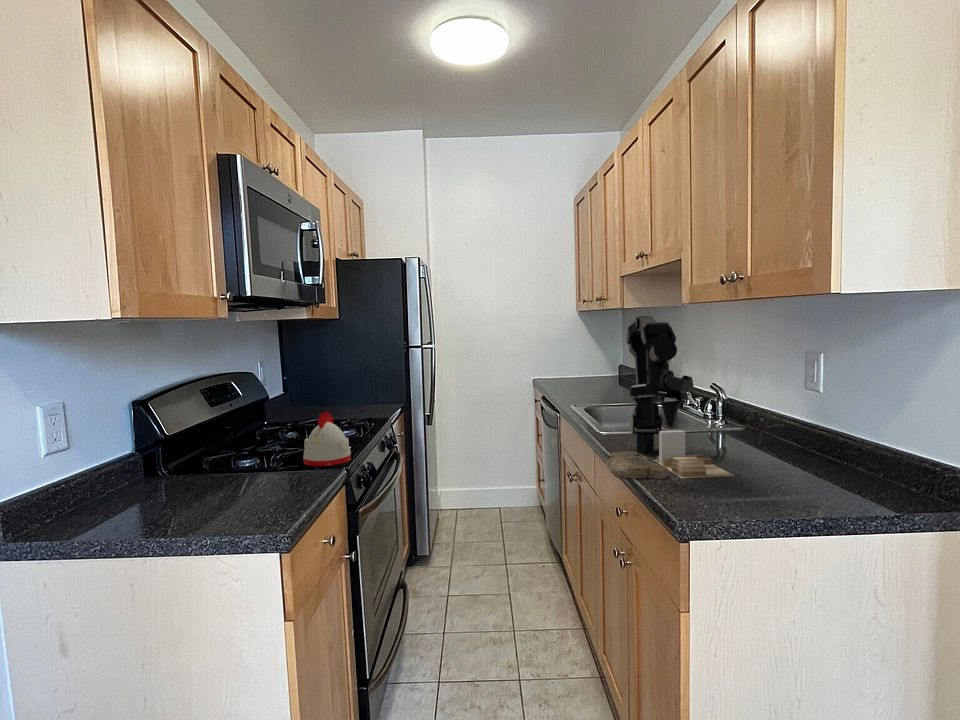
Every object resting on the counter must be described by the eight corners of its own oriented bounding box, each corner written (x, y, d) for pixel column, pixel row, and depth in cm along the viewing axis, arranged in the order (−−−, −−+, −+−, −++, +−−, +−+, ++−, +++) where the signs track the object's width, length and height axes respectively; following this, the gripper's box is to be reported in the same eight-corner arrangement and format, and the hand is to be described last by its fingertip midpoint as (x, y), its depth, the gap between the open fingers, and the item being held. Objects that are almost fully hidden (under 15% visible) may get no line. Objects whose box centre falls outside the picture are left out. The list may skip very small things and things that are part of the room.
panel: (659, 462, 153) (659, 431, 152) (682, 461, 153) (682, 430, 153) (662, 464, 151) (662, 432, 150) (685, 463, 151) (685, 431, 151)
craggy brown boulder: (599, 463, 158) (613, 482, 139) (599, 446, 158) (613, 462, 138) (648, 463, 158) (669, 483, 138) (648, 447, 158) (670, 463, 138)
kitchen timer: (294, 465, 162) (292, 415, 161) (318, 454, 175) (316, 408, 174) (337, 467, 159) (335, 416, 158) (358, 455, 172) (356, 408, 171)
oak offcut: (672, 466, 145) (672, 461, 144) (694, 465, 145) (694, 460, 145) (681, 472, 139) (681, 467, 139) (705, 471, 139) (705, 466, 139)
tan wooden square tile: (671, 470, 145) (671, 466, 145) (694, 469, 145) (694, 465, 145) (681, 476, 139) (681, 472, 139) (705, 475, 139) (705, 471, 139)
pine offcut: (672, 462, 144) (672, 457, 144) (694, 461, 145) (694, 456, 145) (681, 467, 139) (681, 462, 139) (704, 466, 140) (704, 461, 139)
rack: (653, 463, 156) (653, 455, 156) (701, 461, 157) (701, 453, 157) (681, 481, 138) (681, 472, 138) (735, 478, 139) (735, 470, 139)
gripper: (665, 358, 135) (668, 422, 132) (704, 368, 146) (708, 426, 143) (627, 364, 143) (629, 424, 140) (667, 373, 155) (670, 428, 152)
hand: (661, 425), depth 144 cm, fingers open, 9 cm apart
